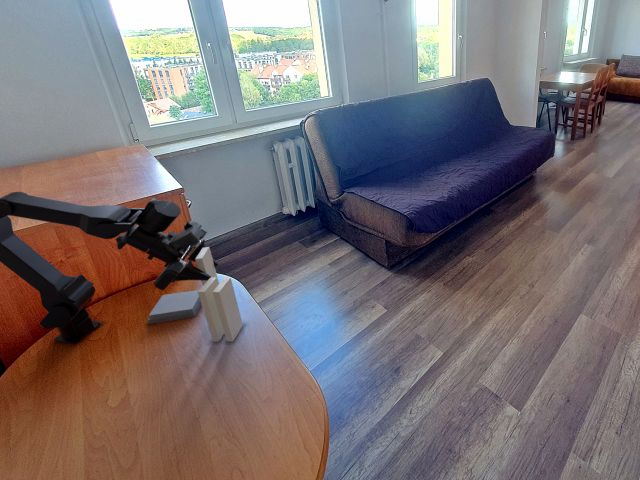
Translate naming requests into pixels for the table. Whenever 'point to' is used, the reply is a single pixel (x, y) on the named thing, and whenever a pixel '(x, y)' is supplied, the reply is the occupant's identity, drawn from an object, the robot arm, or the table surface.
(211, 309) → the cream books
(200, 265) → the slim cream book
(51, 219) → the robot arm
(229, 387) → the table surface
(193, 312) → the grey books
